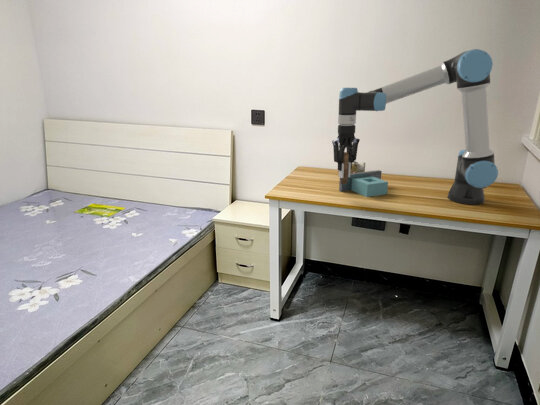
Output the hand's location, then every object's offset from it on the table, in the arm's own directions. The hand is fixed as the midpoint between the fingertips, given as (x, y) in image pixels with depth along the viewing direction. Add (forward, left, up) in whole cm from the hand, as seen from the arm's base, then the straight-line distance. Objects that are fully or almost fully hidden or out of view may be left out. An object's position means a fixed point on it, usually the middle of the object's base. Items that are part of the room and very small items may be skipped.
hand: (344, 176), depth 178 cm
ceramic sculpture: (+33, -30, -11) cm, 46 cm away
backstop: (+10, -18, -10) cm, 23 cm away
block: (+3, -18, -10) cm, 21 cm away
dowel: (0, 0, -3) cm, 3 cm away
